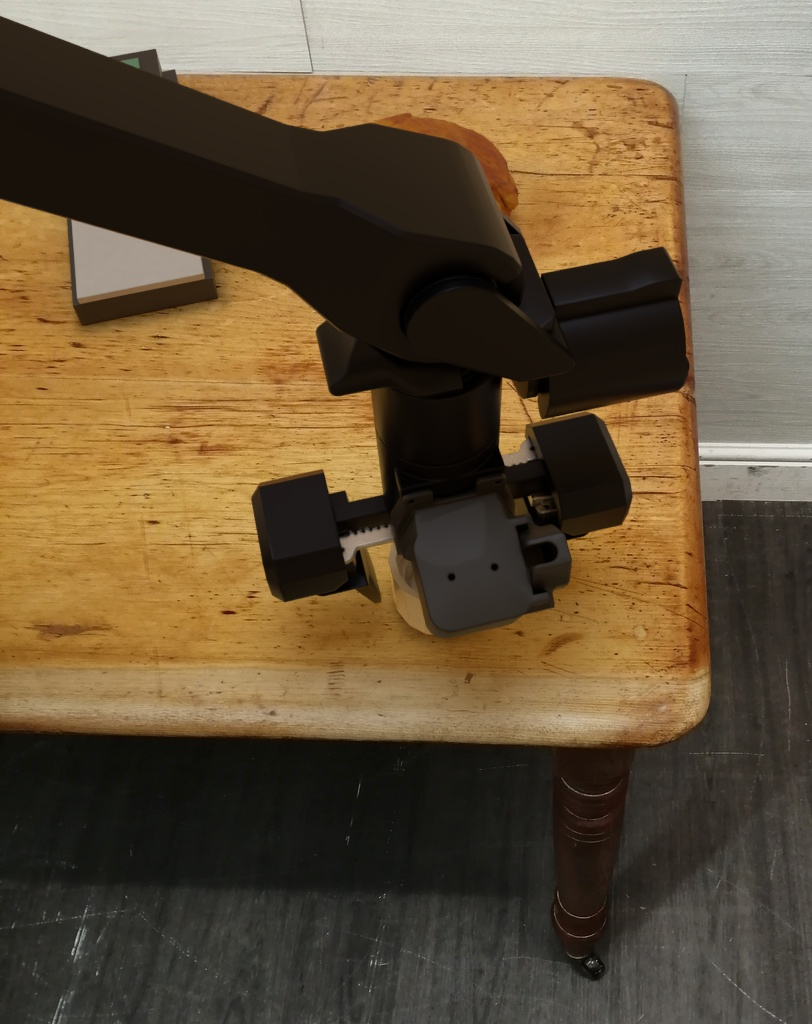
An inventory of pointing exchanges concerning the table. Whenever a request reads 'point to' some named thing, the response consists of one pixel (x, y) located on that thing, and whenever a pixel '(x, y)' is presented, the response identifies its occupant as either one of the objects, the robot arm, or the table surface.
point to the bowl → (406, 591)
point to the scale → (132, 258)
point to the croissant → (475, 143)
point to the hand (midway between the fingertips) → (442, 580)
